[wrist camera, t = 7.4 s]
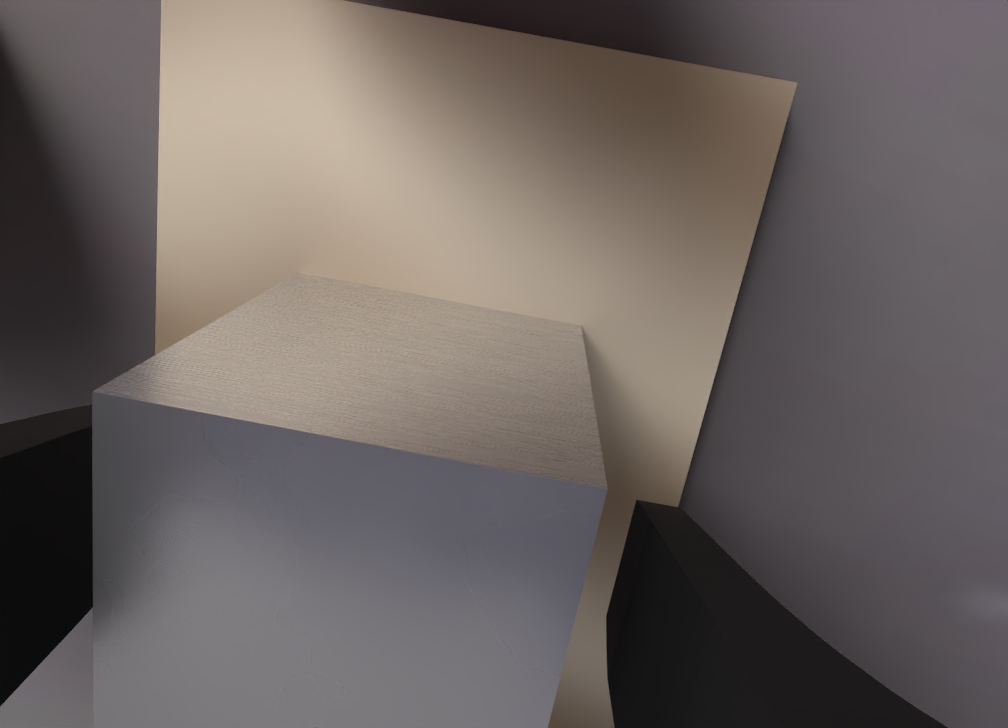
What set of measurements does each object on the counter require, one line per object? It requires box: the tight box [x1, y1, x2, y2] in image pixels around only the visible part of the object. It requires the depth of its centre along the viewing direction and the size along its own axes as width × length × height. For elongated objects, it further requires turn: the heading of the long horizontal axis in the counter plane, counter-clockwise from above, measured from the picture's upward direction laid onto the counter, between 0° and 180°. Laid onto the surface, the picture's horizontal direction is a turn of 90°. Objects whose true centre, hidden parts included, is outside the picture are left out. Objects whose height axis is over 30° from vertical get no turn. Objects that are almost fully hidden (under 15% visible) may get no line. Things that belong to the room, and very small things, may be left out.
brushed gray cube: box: [92, 272, 608, 728], centre depth 11 cm, size 5×5×6 cm
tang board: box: [155, 0, 797, 728], centre depth 12 cm, size 14×10×4 cm
